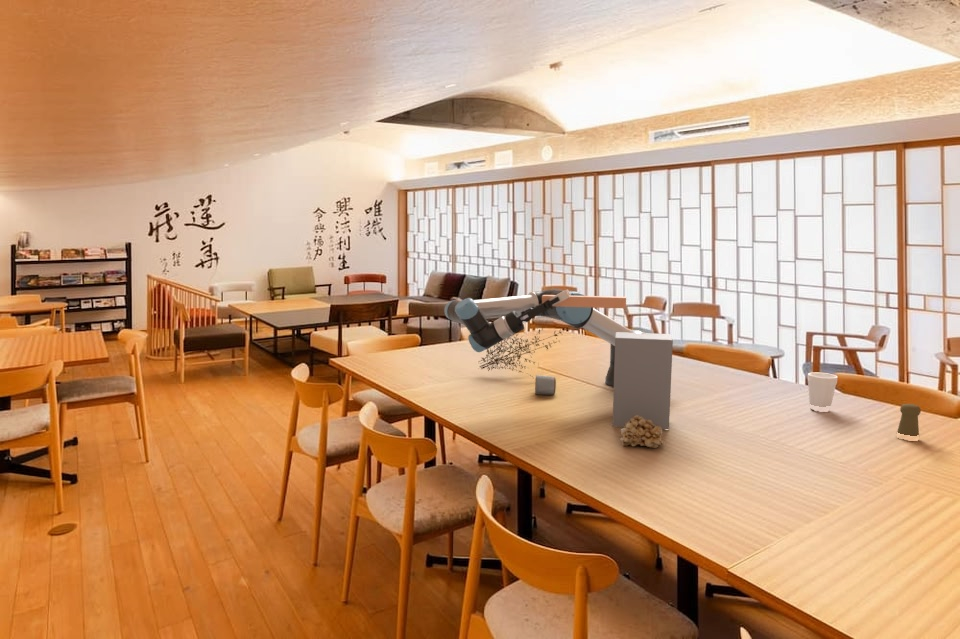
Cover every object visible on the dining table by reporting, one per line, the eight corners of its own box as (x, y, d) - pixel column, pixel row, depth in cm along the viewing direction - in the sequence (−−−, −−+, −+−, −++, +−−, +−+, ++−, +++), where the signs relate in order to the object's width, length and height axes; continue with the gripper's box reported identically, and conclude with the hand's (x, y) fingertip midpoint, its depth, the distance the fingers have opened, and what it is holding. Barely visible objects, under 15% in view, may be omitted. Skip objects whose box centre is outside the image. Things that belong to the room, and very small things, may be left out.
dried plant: (457, 340, 265) (551, 301, 251) (479, 335, 294) (565, 299, 280) (483, 406, 262) (580, 370, 248) (503, 394, 292) (590, 361, 278)
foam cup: (831, 407, 225) (834, 373, 223) (837, 414, 216) (840, 379, 215) (803, 405, 228) (805, 371, 226) (807, 412, 220) (810, 377, 218)
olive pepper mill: (896, 434, 196) (899, 400, 194) (919, 437, 192) (922, 403, 191) (895, 439, 191) (899, 405, 189) (919, 443, 188) (923, 408, 186)
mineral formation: (616, 448, 183) (621, 429, 197) (662, 460, 180) (663, 440, 194) (622, 423, 181) (626, 406, 195) (668, 435, 178) (669, 417, 192)
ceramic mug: (556, 396, 241) (556, 377, 240) (535, 396, 241) (535, 377, 240) (554, 390, 251) (554, 372, 250) (534, 390, 252) (534, 371, 251)
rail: (541, 306, 209) (542, 295, 209) (543, 304, 212) (543, 294, 212) (625, 308, 203) (626, 297, 202) (625, 307, 206) (626, 296, 205)
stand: (612, 426, 204) (615, 337, 200) (613, 416, 215) (616, 332, 211) (668, 430, 200) (672, 340, 195) (666, 419, 211) (670, 334, 207)
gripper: (519, 330, 223) (575, 300, 216) (510, 338, 207) (571, 305, 200) (509, 312, 222) (565, 281, 216) (499, 318, 207) (560, 285, 200)
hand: (568, 293), depth 208 cm, fingers closed on rail, 3 cm apart
